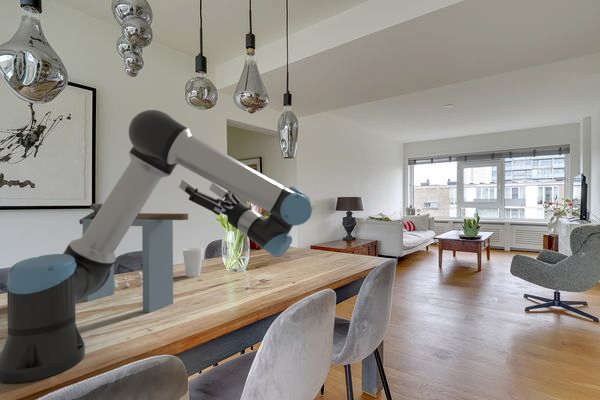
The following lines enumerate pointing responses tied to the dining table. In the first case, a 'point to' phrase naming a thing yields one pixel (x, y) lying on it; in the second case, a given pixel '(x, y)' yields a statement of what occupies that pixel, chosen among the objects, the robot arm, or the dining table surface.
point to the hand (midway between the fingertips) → (197, 184)
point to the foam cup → (193, 261)
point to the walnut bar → (162, 216)
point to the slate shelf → (149, 264)
